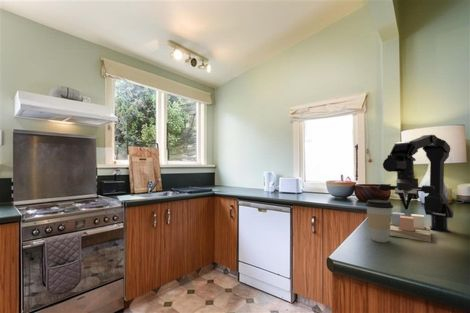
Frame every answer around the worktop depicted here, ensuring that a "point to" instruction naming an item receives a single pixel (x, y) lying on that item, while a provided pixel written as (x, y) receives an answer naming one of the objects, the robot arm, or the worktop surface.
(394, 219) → the slate-blue button
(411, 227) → the salmon pink block
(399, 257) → the worktop surface
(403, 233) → the panel
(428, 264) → the worktop surface
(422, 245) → the worktop surface
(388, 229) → the coffee cup
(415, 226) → the cream button
